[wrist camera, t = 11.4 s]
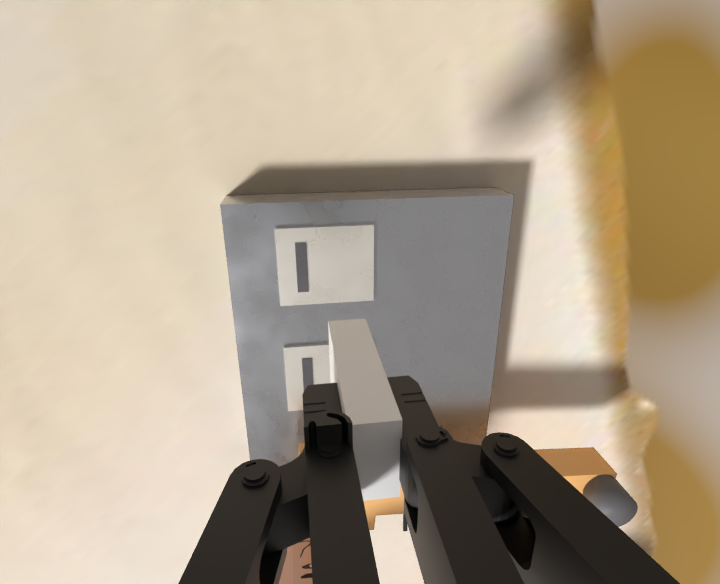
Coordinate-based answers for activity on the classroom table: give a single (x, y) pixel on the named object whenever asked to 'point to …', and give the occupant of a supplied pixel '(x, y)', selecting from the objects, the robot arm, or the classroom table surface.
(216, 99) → the classroom table surface
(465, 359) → the board
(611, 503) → the bar
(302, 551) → the printed cylinder
